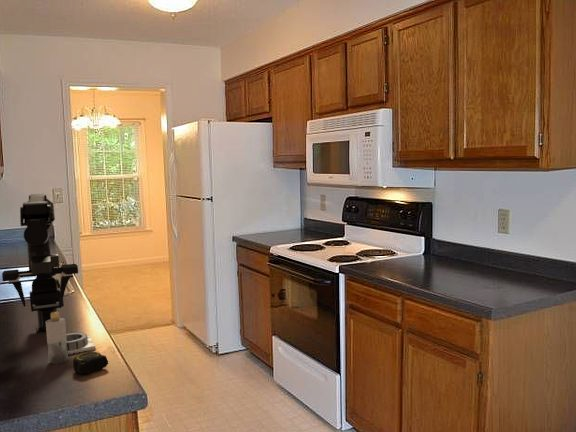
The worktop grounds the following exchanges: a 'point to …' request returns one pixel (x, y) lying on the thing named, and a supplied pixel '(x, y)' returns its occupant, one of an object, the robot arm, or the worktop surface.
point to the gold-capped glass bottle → (56, 339)
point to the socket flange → (79, 343)
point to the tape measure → (89, 362)
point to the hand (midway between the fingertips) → (43, 304)
